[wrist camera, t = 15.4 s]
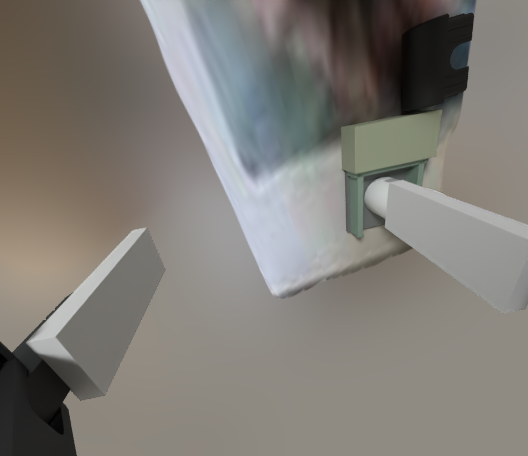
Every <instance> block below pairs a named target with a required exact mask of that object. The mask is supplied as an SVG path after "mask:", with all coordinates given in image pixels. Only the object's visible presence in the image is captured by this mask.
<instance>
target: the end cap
mask: <svg viewBox="0 0 528 456" xmlns="http://www.w3.org/2000/svg"><path fill="white" fill-rule="evenodd" d="M473 20H474V15H473V13H468V14H460V15H457V16H454V17H450V18H449V14H445V15H442V16H439V17H436V18H433V19H431V20H428V21H426V22H424V23H421V24H419V25H417V26H415V27H413V28H411V29H409V30H407V31H406V32H405V33H404V34H403V35H402V87H403V110H405V111H408V110H415V109H420V108H425V107H429V106H433V105H437V104H440V103H443V101H444V99H445V98H449V97H452V96H455V95H457V94H458V93H461V92H464V91H465V90H466V88H467V80H468V70H469V67H464V68H461V69H458V70H455V69H453V68H452V67H451V65H450V56H451V54H452V51H453V50H454V49H455V47H456V46H458V45H459V44H462V43H465V42H469V41H471V40H472V30H473Z"/></svg>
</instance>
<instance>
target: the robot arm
mask: <svg viewBox="0 0 528 456" xmlns="http://www.w3.org/2000/svg"><path fill="white" fill-rule="evenodd" d="M385 228H386V229H387V230H389V231H390V232H392V233H393V234H394V235H396V236H397V237H398V238H400V239H401V240H403V241H404V242H405V243H407V244H408V245H409V246H411V247H412V248H414V249H415V250H417V251H418V252H419V253H421V254H422V255H423V256H425V257H426V258H427V259H429V260H430V261H431V262H433V263H434V264H436V265H437V266H438V267H440V268H441V269H443V270H444V271H445V272H447V273H448V274H449V275H451V276H452V277H454V278H455V279H456V280H458V281H459V282H461V283H462V284H463V285H464V286H466V287H467V288H469V289H470V290H471V291H473V292H474V293H475V294H477V295H478V296H480V297H481V298H483V299H484V300H485V301H486V302H488V303H489V304H491V305H492V306H493V307H495V308H496V309H498V310H499V311H501V312H502V313H508V312H513V311H518V310H523V309H525V308H526V306H527V304H528V225H526V224H524V223H521V222H518V221H515V220H512V219H510V218H507V217H504V216H501V215H499V214H496V213H493V212H490V211H487V210H485V209H482V208H479V207H476V206H474V205H471V204H468V203H465V202H463V201H460V200H457V199H454V198H451V197H448V196H446V195H443V194H440V193H438V192H435V191H432V190H429V189H426V188H424V187H421V186H418V185H415V184H413V183H410V182H407V181H404V180H400V181H394V182H389V187H388V198H387V209H386V220H385ZM164 272H165V267H164V265H163V263H162V260H161V258H160V256H159V253H158V251H157V249H156V247H155V244H154V242H153V240H152V237H151V235H150V233H149V230H148V228H142V229H137V230H132V232H131V233H130V234H129V235H128V236H127V237H126V238H125V239H124V240H123V241H122V242H121V243H120V244H119V245H118V246H117V247H116V248H115V249H114V250H113V252H112V253H111V254H110V255H109V256H108V257H107V258H106V259H105V260H104V261H103V262H102V263H101V264H100V265H99V266H98V267H97V268H96V270H94V272H93V273H92V274H91V275H90V276H89V277H88V278H87V279H86V280H85V281H84V282H83V283H82V284H81V285H80V286H79V287H78V288H77V289H76V290H75V291H74V292H73V293H71V294H70V295H69V296H67V297H66V298H65V299H64V300H63V301H62V302H61V303H60V304H59V305H58V306H57V307H56V308H55V311H52V312H51V313H50V314H49V315H48V316H47V317H46V320H43V321H42V322H41V323H40V324H39V326H38V327H37V328H36V329H35V330H34V331H33V332H32V333H31V334H30V335H29V336H28V337H27V338H26V339H25V340H24V341H23V342H22V343H21V344H20V345H19V346H18V347H17V348H16V349H15V350H14V351H13V352H10V350H8V349H7V347H5V346H4V345H3V344H2V343H1V342H0V456H77V455H76V449H75V444H74V438H73V433H72V427H71V421H70V416H69V410H68V408H67V407H66V405H65V404H64V403H63V401H64V399H65V397H66V396H67V394H68V393H69V391H70V390H71V391H72V392H73V393H74V394H75V395H76V396H77V398H78V399H79V400H80V401H81V400H85V399H91V398H96V397H100V396H105V394H106V392H107V390H108V388H109V386H110V384H111V382H112V380H113V378H114V376H115V374H116V372H117V370H118V367H119V365H120V363H121V361H122V359H123V357H124V355H125V353H126V351H127V349H128V346H129V345H130V343H131V340H132V338H133V336H134V334H135V332H136V330H137V328H138V326H139V324H140V322H141V320H142V317H143V316H144V313H145V311H146V309H147V307H148V305H149V303H150V301H151V299H152V297H153V295H154V293H155V291H156V288H157V286H158V284H159V282H160V280H161V278H162V276H163V274H164Z"/></svg>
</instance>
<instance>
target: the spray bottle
mask: <svg viewBox="0 0 528 456" xmlns="http://www.w3.org/2000/svg"><path fill="white" fill-rule="evenodd" d="M394 181H400V180H398V179H394V178H391V177H381V178H378V179H376V180H375V181H373V182H372V183H371V184H370V185H369V186H368V187H367V190H366V192H365V196H364V201H365V205H366V207H367V208H368V209H369V210H370V211H372V212H374V213H376V214H377V215H379V216H381V217H383V218H384V219H386V209H387V198H388V187H389V182H394ZM421 187H422V186H421ZM424 188H425V187H424ZM426 189H429V188H426ZM429 190H432V189H429ZM432 191H435V190H432ZM435 192H438V191H435ZM438 193H440V194H443V193H441V192H438ZM443 195H444V194H443Z"/></svg>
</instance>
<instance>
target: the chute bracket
mask: <svg viewBox="0 0 528 456" xmlns="http://www.w3.org/2000/svg"><path fill="white" fill-rule="evenodd" d="M442 110H443V109H440V110H430V111H420V112H415V113H410V114H405V115H400V116H395V117H390V118H385V119H380V120H375V121H370V122H365V123H360V124H355V125H350V126H345V127H341V144H342V170H345V193H346V231H347V232H351V233H353V234H354V235H355V236H356V237H357V238H359V237H363V229H366V228H370V227H374V226H379V225H383V224H385V220H386V219H384V218H383V217H381V216H379V215H377V214H376V213H374V212H372V211H370V210H369V209H368V208H367V207H366V205H365V201H364V196H365V192H366V190H367V187H368V186H369V185H370V184H371V183H372V182H373V181H375V180H376V179H378V178H381V177H391V178H394V179H398V180H404V181H407V182H410V183H413V184H415V185H418V186H422V181H423V173H424V165H425V163H427V162H428V158H432V157H436V153H437V146H438V138H439V131H440V124H441V117H442Z"/></svg>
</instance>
